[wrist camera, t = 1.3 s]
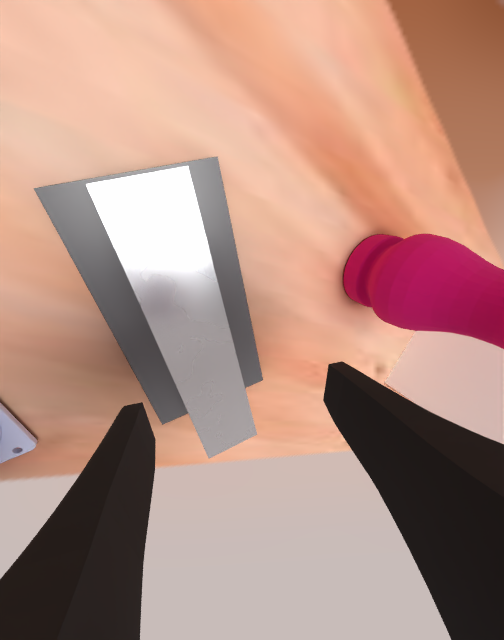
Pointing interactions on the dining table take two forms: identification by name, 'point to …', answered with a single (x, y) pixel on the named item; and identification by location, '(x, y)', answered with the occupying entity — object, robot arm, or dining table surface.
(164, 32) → the dining table surface
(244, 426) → the bar
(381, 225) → the dining table surface
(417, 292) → the pepper mill
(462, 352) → the milk
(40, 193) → the board
